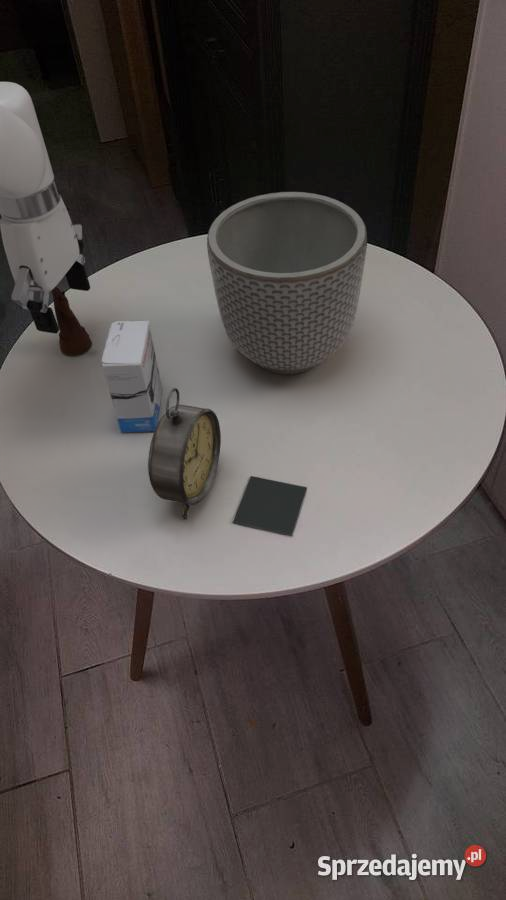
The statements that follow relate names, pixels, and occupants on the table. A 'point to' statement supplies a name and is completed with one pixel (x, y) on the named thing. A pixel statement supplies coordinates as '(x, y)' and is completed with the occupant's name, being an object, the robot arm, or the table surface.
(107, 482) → the table surface
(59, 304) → the chess piece
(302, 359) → the planter
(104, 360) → the ink box
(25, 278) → the robot arm
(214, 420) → the alarm clock
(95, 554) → the table surface
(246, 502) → the slate coaster
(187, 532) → the table surface
